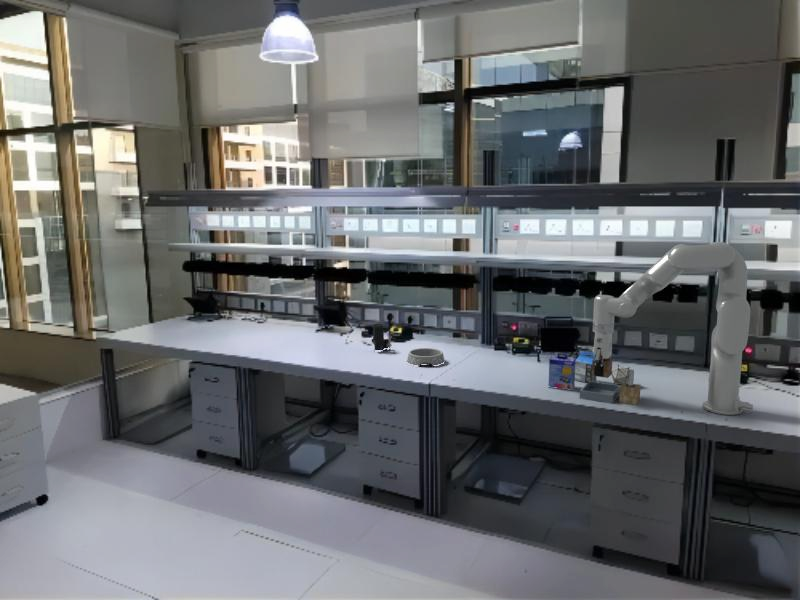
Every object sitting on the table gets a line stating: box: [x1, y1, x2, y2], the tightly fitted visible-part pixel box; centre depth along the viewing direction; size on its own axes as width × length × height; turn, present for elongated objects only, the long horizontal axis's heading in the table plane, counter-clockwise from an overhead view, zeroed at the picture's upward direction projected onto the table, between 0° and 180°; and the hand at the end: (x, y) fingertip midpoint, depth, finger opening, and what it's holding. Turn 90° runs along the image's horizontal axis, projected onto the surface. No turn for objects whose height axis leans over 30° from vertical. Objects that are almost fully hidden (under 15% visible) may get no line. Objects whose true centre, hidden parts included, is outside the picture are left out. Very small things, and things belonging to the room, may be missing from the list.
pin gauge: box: [627, 368, 635, 387], centre depth 217 cm, size 2×2×12 cm
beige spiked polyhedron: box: [610, 364, 631, 386], centre depth 237 cm, size 9×8×10 cm
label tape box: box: [575, 350, 598, 384], centre depth 242 cm, size 9×4×12 cm, turn 40°
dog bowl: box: [406, 347, 446, 367], centre depth 275 cm, size 17×18×5 cm
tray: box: [579, 381, 621, 404], centre depth 224 cm, size 12×14×3 cm
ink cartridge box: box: [548, 353, 576, 391], centre depth 234 cm, size 10×6×14 cm, turn 68°
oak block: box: [619, 383, 641, 406], centre depth 217 cm, size 6×6×6 cm
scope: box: [371, 323, 392, 351], centre depth 297 cm, size 8×14×10 cm
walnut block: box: [592, 357, 613, 379], centre depth 222 cm, size 6×6×6 cm
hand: (600, 373), depth 223 cm, fingers closed on walnut block, 6 cm apart
